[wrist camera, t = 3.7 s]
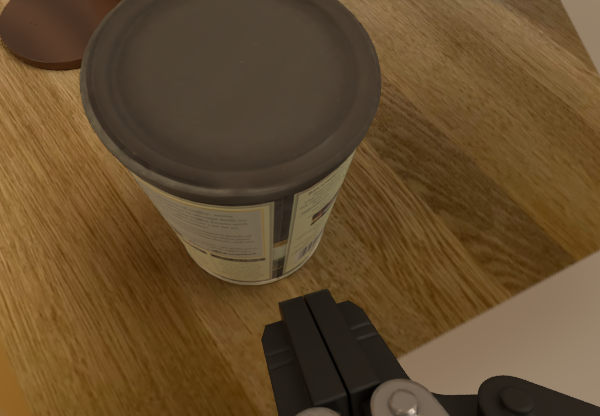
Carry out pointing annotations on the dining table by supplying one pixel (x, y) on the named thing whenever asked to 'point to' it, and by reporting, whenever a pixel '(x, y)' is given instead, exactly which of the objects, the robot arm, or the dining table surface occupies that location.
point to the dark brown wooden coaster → (52, 30)
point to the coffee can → (234, 120)
